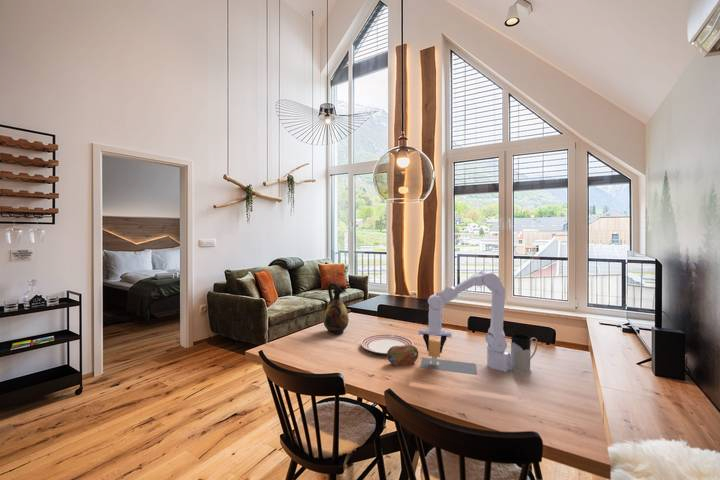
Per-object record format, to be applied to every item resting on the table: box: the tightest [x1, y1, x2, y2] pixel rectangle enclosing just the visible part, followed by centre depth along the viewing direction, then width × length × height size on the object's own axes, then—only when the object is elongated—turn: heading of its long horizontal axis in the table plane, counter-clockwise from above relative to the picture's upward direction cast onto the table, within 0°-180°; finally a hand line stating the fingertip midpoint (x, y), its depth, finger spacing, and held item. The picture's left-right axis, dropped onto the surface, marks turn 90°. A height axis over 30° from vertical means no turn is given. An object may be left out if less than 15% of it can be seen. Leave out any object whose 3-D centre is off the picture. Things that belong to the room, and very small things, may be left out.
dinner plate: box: [360, 333, 414, 355], centre depth 170 cm, size 28×27×3 cm
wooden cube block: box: [428, 337, 441, 358], centre depth 146 cm, size 5×5×7 cm
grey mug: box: [510, 333, 538, 375], centre depth 144 cm, size 9×14×15 cm, turn 111°
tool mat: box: [419, 356, 478, 376], centre depth 144 cm, size 24×12×6 cm, turn 74°
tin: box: [386, 345, 419, 366], centre depth 150 cm, size 15×3×8 cm, turn 105°
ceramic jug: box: [322, 282, 350, 336], centre depth 195 cm, size 17×15×30 cm
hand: (434, 351), depth 146 cm, fingers closed on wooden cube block, 5 cm apart
